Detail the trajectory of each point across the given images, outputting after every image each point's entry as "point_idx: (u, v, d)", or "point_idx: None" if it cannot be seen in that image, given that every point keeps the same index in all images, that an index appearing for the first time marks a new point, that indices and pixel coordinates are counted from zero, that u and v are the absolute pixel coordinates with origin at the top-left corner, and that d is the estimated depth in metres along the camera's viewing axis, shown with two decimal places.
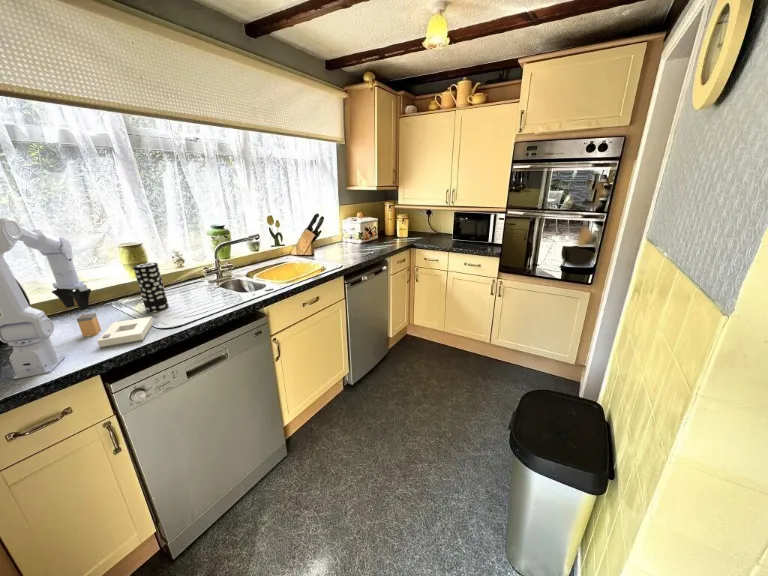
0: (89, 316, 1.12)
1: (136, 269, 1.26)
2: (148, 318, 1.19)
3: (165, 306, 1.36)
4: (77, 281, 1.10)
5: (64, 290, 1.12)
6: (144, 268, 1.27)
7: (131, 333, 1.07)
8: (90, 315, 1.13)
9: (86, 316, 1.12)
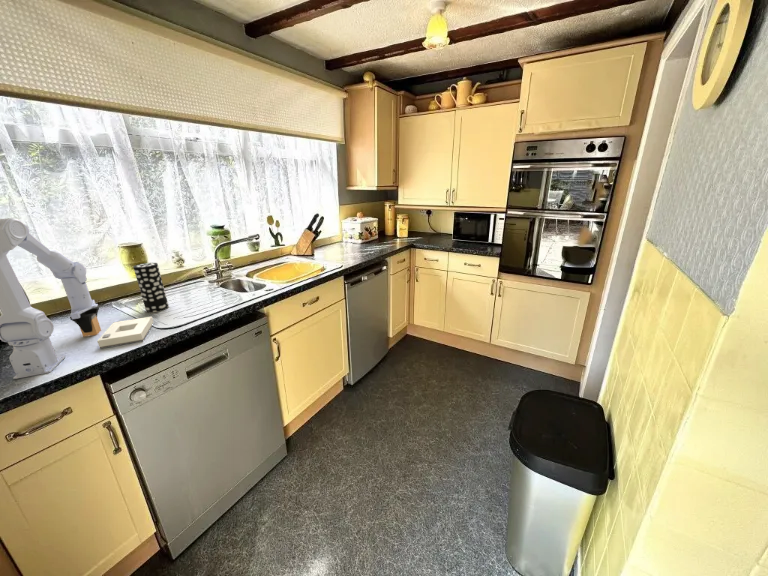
0: None
1: (136, 269, 1.26)
2: (148, 318, 1.19)
3: (165, 306, 1.36)
4: (83, 306, 1.09)
5: (87, 311, 1.13)
6: (144, 268, 1.27)
7: (131, 333, 1.07)
8: None
9: None
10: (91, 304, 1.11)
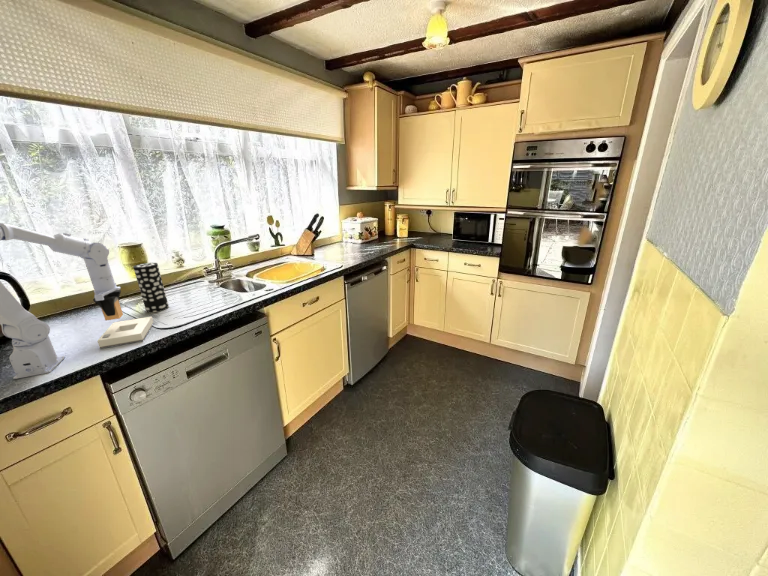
0: None
1: (136, 269, 1.26)
2: (148, 318, 1.19)
3: (165, 306, 1.36)
4: (107, 288, 1.05)
5: (109, 294, 1.10)
6: (144, 268, 1.27)
7: (131, 333, 1.07)
8: None
9: None
10: (114, 286, 1.08)
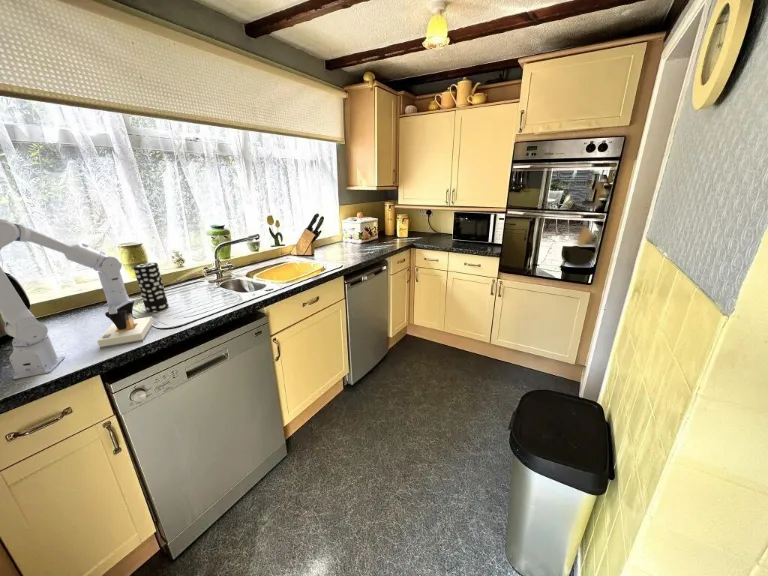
0: (126, 316, 1.10)
1: (136, 269, 1.26)
2: (148, 318, 1.19)
3: (165, 306, 1.36)
4: (120, 301, 1.06)
5: (123, 305, 1.12)
6: (144, 268, 1.27)
7: (131, 333, 1.07)
8: (126, 315, 1.11)
9: None
10: (127, 299, 1.09)
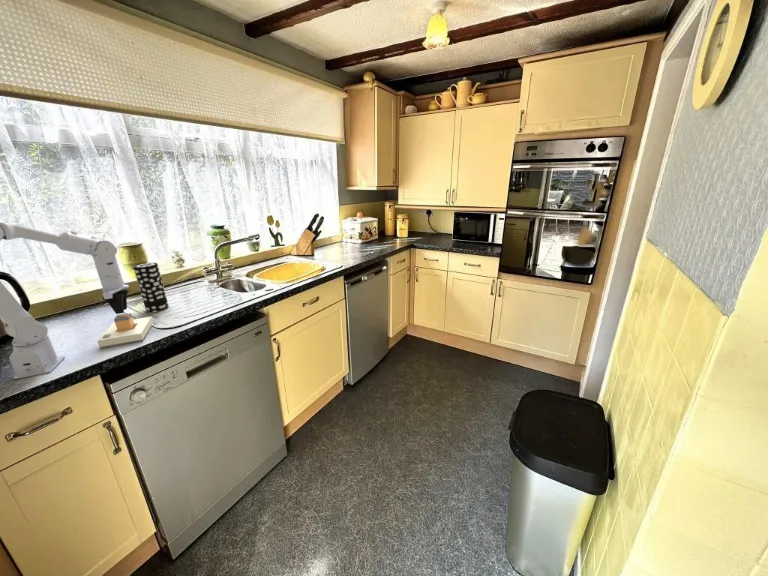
0: (126, 316, 1.10)
1: (136, 269, 1.26)
2: (148, 318, 1.19)
3: (165, 306, 1.36)
4: (115, 286, 1.05)
5: (117, 293, 1.09)
6: (144, 268, 1.27)
7: (131, 333, 1.07)
8: (126, 315, 1.11)
9: (122, 316, 1.10)
10: (122, 285, 1.07)
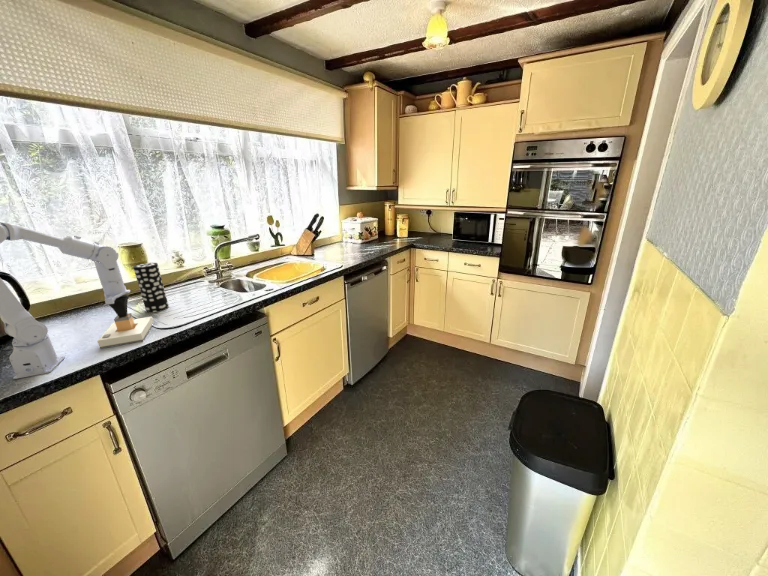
0: (126, 316, 1.10)
1: (136, 269, 1.26)
2: (148, 318, 1.19)
3: (165, 306, 1.36)
4: (117, 291, 1.05)
5: None
6: (144, 268, 1.27)
7: (131, 333, 1.07)
8: None
9: None
10: (124, 290, 1.07)
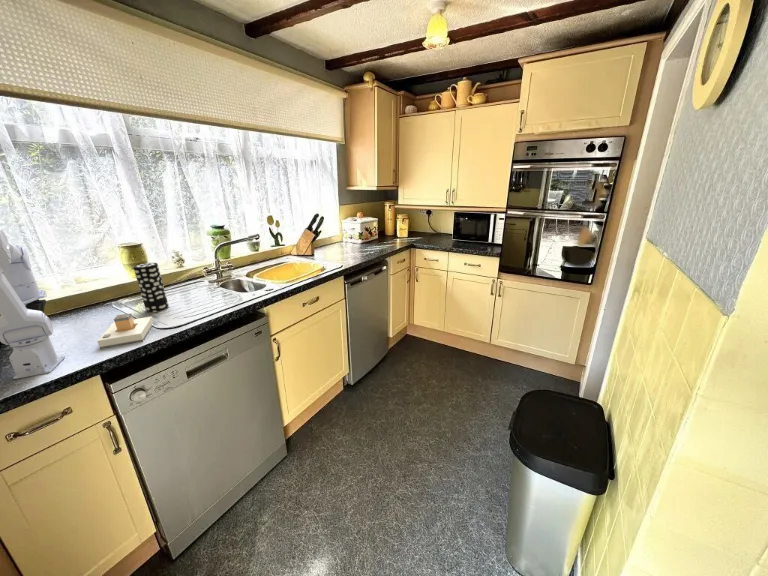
0: (126, 316, 1.10)
1: (136, 269, 1.26)
2: (148, 318, 1.19)
3: (165, 306, 1.36)
4: (28, 296, 0.96)
5: None
6: (144, 268, 1.27)
7: (131, 333, 1.07)
8: (126, 315, 1.11)
9: (122, 316, 1.10)
10: (38, 294, 0.98)
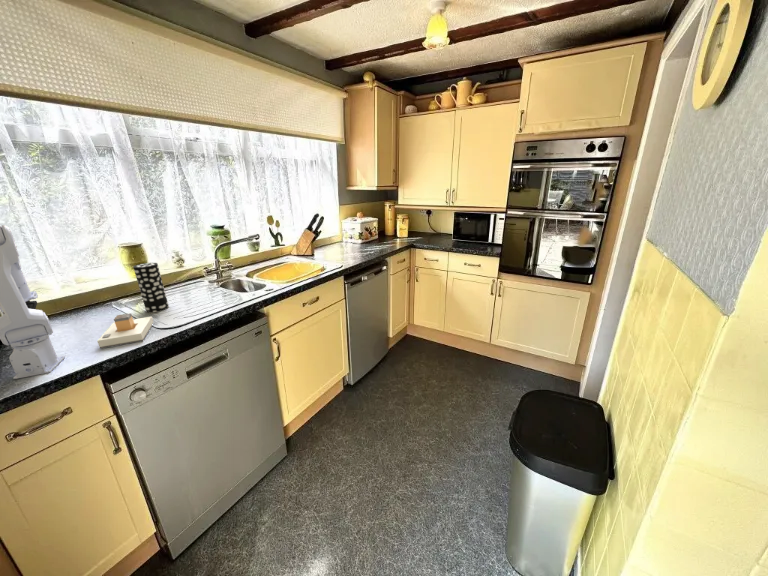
0: (126, 316, 1.10)
1: (136, 269, 1.26)
2: (148, 318, 1.19)
3: (165, 306, 1.36)
4: None
5: None
6: (144, 268, 1.27)
7: (131, 333, 1.07)
8: (126, 315, 1.11)
9: (122, 316, 1.10)
10: (29, 296, 0.97)
